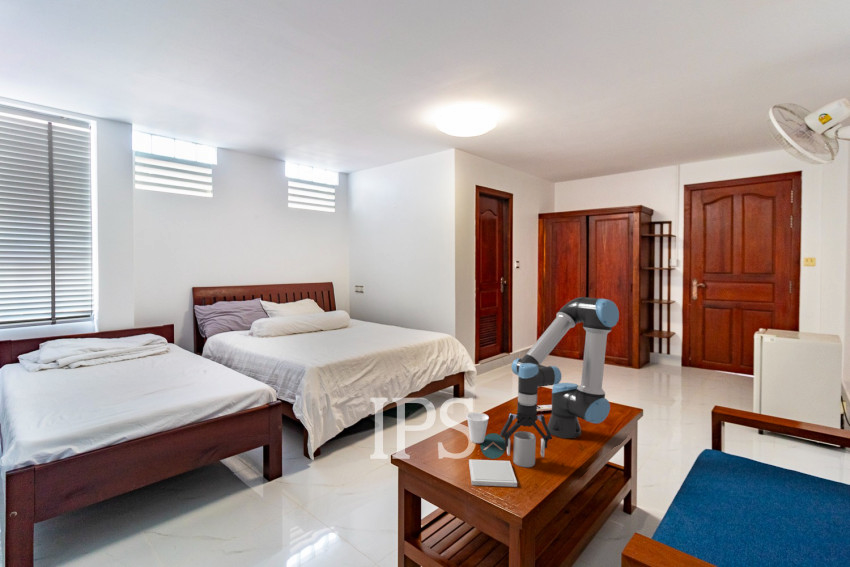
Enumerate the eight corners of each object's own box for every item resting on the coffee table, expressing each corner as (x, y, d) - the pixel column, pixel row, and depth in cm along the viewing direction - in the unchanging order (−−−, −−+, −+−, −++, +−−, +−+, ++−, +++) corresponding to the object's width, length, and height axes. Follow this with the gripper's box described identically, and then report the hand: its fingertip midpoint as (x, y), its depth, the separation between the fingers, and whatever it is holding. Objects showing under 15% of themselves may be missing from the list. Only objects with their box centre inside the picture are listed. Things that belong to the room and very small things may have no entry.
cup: (487, 446, 176) (488, 421, 175) (464, 444, 178) (465, 419, 177) (488, 437, 185) (489, 413, 185) (467, 435, 187) (467, 411, 187)
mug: (530, 469, 157) (531, 441, 156) (509, 463, 161) (510, 436, 161) (540, 457, 166) (541, 431, 166) (520, 452, 171) (521, 426, 171)
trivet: (509, 464, 160) (509, 460, 160) (517, 486, 144) (517, 482, 144) (468, 463, 161) (469, 459, 161) (471, 484, 145) (471, 480, 145)
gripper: (556, 401, 166) (554, 452, 167) (494, 398, 167) (492, 449, 168) (561, 407, 159) (559, 460, 159) (497, 404, 160) (495, 457, 160)
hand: (525, 454), depth 164 cm, fingers open, 13 cm apart
